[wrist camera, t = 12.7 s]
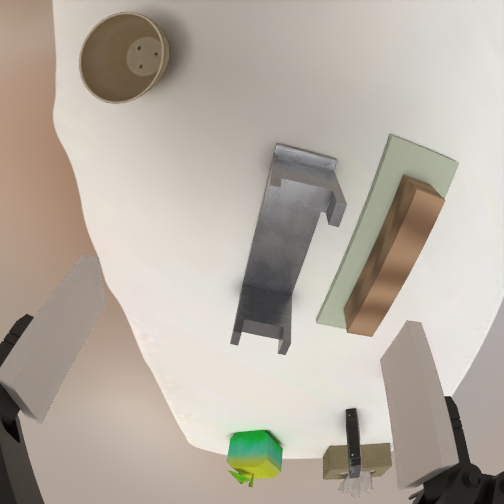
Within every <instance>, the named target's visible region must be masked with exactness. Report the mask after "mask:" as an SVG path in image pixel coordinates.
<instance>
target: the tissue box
mask: <svg viewBox="0 0 504 504" xmlns="http://www.w3.org/2000/svg"><path fill="white" fill-rule="evenodd" d="M360 446H361V453H362V455H361V461H362V467H361V473H360V476H359V478H352V479H349V462H348V445H345V446H329V448H328V450H327V452H326V453H325V455H324V457H323V479H325V480H326V479H344V481H343V482H342V483H341V484H340V486H339V489H338V490H341V491H342V492H343V493H348V494H350V495H351V496H353V497H355V498H358V497H360V495H361V494H363V493H369V492H370V491H371V490H372V489H373V487H372V478H371V477H377V476H381V475H383V474H384V473H385V472H386V471H387V470H388V469H389V468H390V467H391V466H392V460H391V451H390V443H382V444H368V445H360Z"/></svg>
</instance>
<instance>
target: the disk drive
mask: <svg viewBox="0 0 504 504" xmlns="http://www.w3.org/2000/svg"><path fill="white" fill-rule="evenodd" d="M346 433H347V445H348V462H349V479H352V478H359V476H360V473H361V467H362V461H361V455H362V453H361V446H360V431H359V421H358V416H357V411H356V409H350V410H346Z"/></svg>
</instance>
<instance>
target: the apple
mask: <svg viewBox="0 0 504 504" xmlns="http://www.w3.org/2000/svg"><path fill="white" fill-rule="evenodd" d="M282 451H283V449H282V448H281V447H280V446H279V445H278V444H277V443H276V442H275V441H274V440H273V439H272V438H271V437H270V436H269V435H268V434H267V433H266V432H265V431H264V430H256V431H246V432H237V433H236V434H235V435H234V436H233V437H232V438H231V439H230V445H229V451H228V457H227V462H228V463H229V465H230V466H231V467H232V468H234V469H235V470H236V471H238V472H239V473H236V472H232V471H229V472H230V473H231V474H232V475H233V476H234V477H235V478H236V479H237V480H238V481H239V482H240V483H241V484H242V483H244V482H247V481H250V480H251V481H250V483H249V487H253V486H252V485H253V479H259V478H260V479H261V478H274V477H275V476H277V475H278V474H279V473H280V472H281V464H282ZM240 473H241V474H240Z"/></svg>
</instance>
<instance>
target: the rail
mask: <svg viewBox="0 0 504 504" xmlns="http://www.w3.org/2000/svg"><path fill="white" fill-rule="evenodd" d="M444 202H445V199H444V198H443V197H442V196H441V195H440V194H439V193H438V192H437V191H436V190H435V189H434V188H433V187H432V186H431V185H430V184H428V183H426V182H423V181H421V180H418V179H415V178H412V177H410V176H407V175H404V174H403V176H402V178H401V181H400V183H399V186H398V189H397V191H396V194H395V196H394V199H393V201H392V204H391V206H390V209H389V211H388V213H387V216H386V218H385V221H384V223H383V225H382V228H381V230H380V232H379V235H378V237H377V239H376V241H375V244H374V246H373V248H372V250H371V253H370V255H369V257H368V259H367V261H366V263H365V266H364V268H363V270H362V272H361V274H360V276H359V278H358V280H357V282H356V284H355V286H354V289H353V291H352V293H351V295H350V297H349V299H348V301H347V303H346V305H345V307H344V308H343V310H344V316H345V322H346V329H347V333H352V334H358V335H364V336H370V337H372V336H373V334H374V333H375V331H376V330H377V328H378V326H379V325H380V323H381V322H382V320H383V318H384V317H385V315H386V313H387V312H388V310H389V308H390V307H391V305H392V303H393V302H394V300H395V298H396V297H397V295H398V293H399V291H400V290H401V288H402V286H403V284H404V282H405V281H406V279H407V277H408V275H409V273H410V271H411V270H412V268H413V266H414V264H415V262H416V260H417V258H418V256H419V254H420V252H421V250H422V248H423V247H424V245H425V243H426V240H427V238H428V236H429V234H430V232H431V230H432V228H433V226H434V224H435V222H436V220H437V217H438V215H439V213H440V211H441V209H442V206H443V204H444Z"/></svg>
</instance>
